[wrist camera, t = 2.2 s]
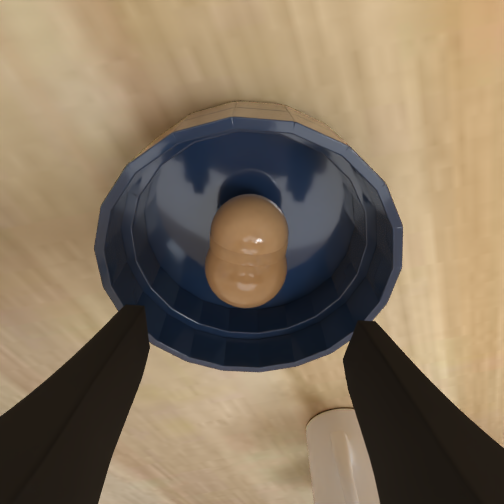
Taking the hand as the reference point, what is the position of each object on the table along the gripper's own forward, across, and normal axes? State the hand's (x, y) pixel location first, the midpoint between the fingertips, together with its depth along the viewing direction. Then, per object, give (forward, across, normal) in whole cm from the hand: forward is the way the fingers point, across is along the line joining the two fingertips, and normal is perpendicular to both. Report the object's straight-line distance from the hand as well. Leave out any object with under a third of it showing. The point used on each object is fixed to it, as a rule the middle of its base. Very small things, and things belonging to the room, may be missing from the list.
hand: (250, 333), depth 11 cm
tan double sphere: (+7, 0, 0) cm, 7 cm away
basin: (+8, 0, 0) cm, 8 cm away
